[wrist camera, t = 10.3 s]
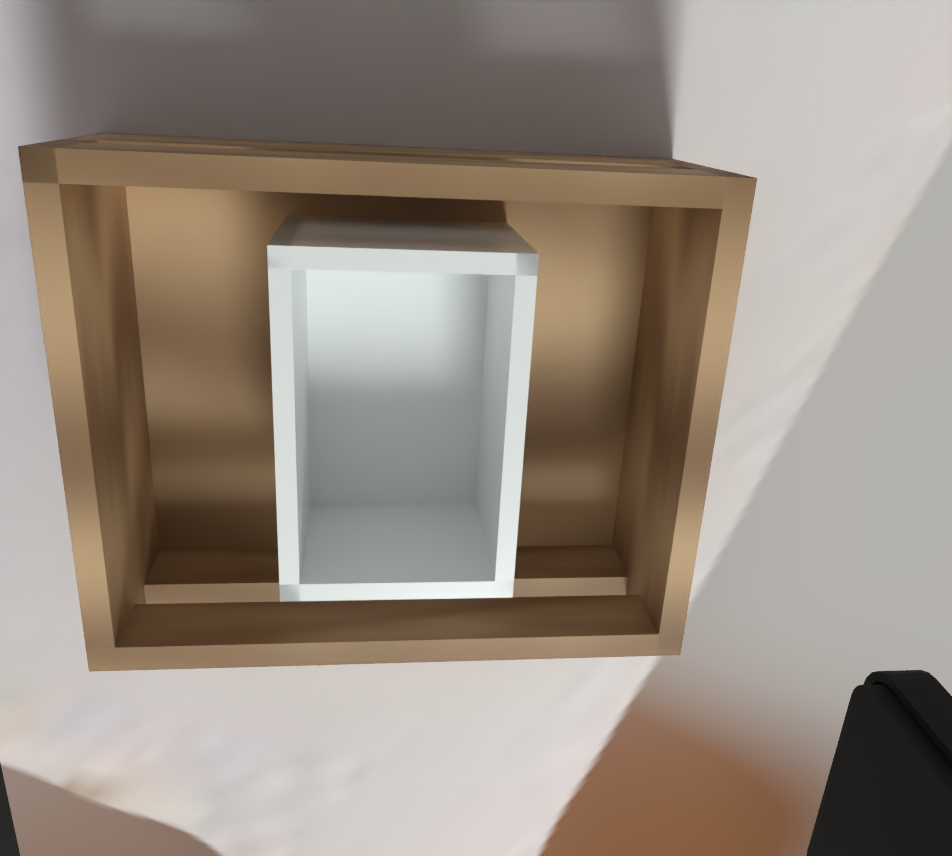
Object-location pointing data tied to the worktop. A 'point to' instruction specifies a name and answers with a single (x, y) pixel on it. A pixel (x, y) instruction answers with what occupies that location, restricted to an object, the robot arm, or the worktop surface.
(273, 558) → the oak crate
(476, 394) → the small crate
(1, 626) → the worktop surface
